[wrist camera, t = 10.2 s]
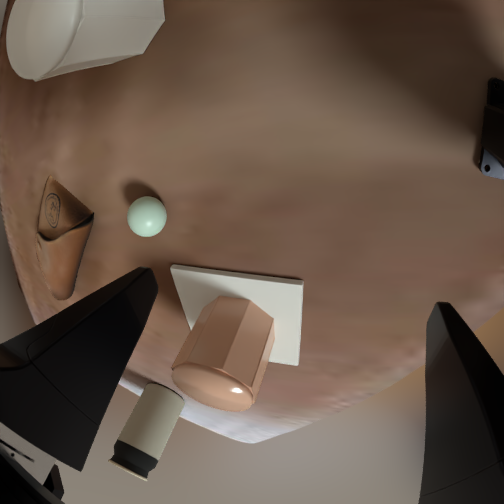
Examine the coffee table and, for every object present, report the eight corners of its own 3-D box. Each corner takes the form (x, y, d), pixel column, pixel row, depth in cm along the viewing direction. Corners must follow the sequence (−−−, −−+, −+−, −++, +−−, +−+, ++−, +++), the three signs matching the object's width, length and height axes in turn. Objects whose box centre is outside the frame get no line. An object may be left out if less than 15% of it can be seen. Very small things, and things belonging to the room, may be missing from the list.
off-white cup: (160, -37, 11) (75, -58, 5) (168, 46, 15) (80, 54, 9) (87, -3, 13) (5, 2, 7) (94, 70, 17) (12, 94, 11)
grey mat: (303, 280, 24) (302, 285, 23) (298, 361, 31) (297, 365, 30) (172, 264, 27) (170, 268, 27) (198, 342, 34) (196, 346, 34)
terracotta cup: (273, 302, 25) (246, 381, 19) (275, 349, 30) (254, 417, 23) (199, 292, 27) (160, 359, 21) (212, 338, 31) (183, 399, 25)
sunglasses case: (46, 168, 25) (25, 215, 21) (103, 185, 28) (91, 234, 25) (37, 256, 36) (28, 296, 32) (77, 267, 40) (71, 307, 36)
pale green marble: (169, 189, 22) (147, 209, 20) (177, 224, 24) (157, 246, 22) (137, 189, 23) (114, 208, 21) (146, 222, 25) (126, 242, 22)
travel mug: (140, 377, 49) (98, 455, 35) (176, 388, 46) (133, 475, 32) (157, 397, 53) (121, 469, 39) (191, 407, 50) (156, 485, 37)
